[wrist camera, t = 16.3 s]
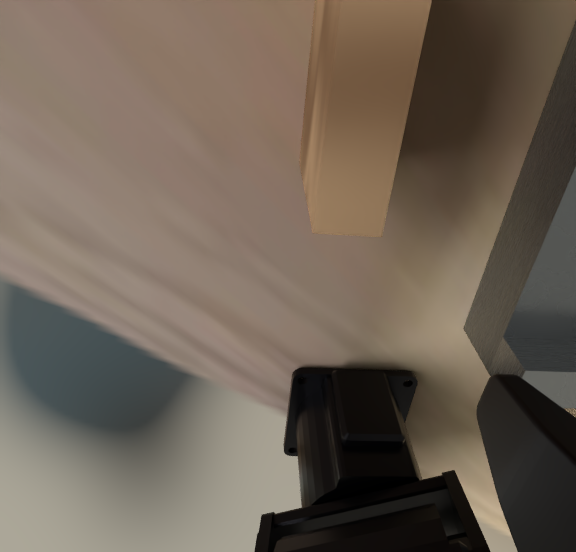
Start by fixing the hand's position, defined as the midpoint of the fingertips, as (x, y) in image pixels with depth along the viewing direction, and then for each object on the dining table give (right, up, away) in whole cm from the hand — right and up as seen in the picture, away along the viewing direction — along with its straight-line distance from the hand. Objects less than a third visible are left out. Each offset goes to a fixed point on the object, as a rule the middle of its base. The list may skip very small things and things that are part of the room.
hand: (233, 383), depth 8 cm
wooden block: (+3, +10, +8) cm, 13 cm away
